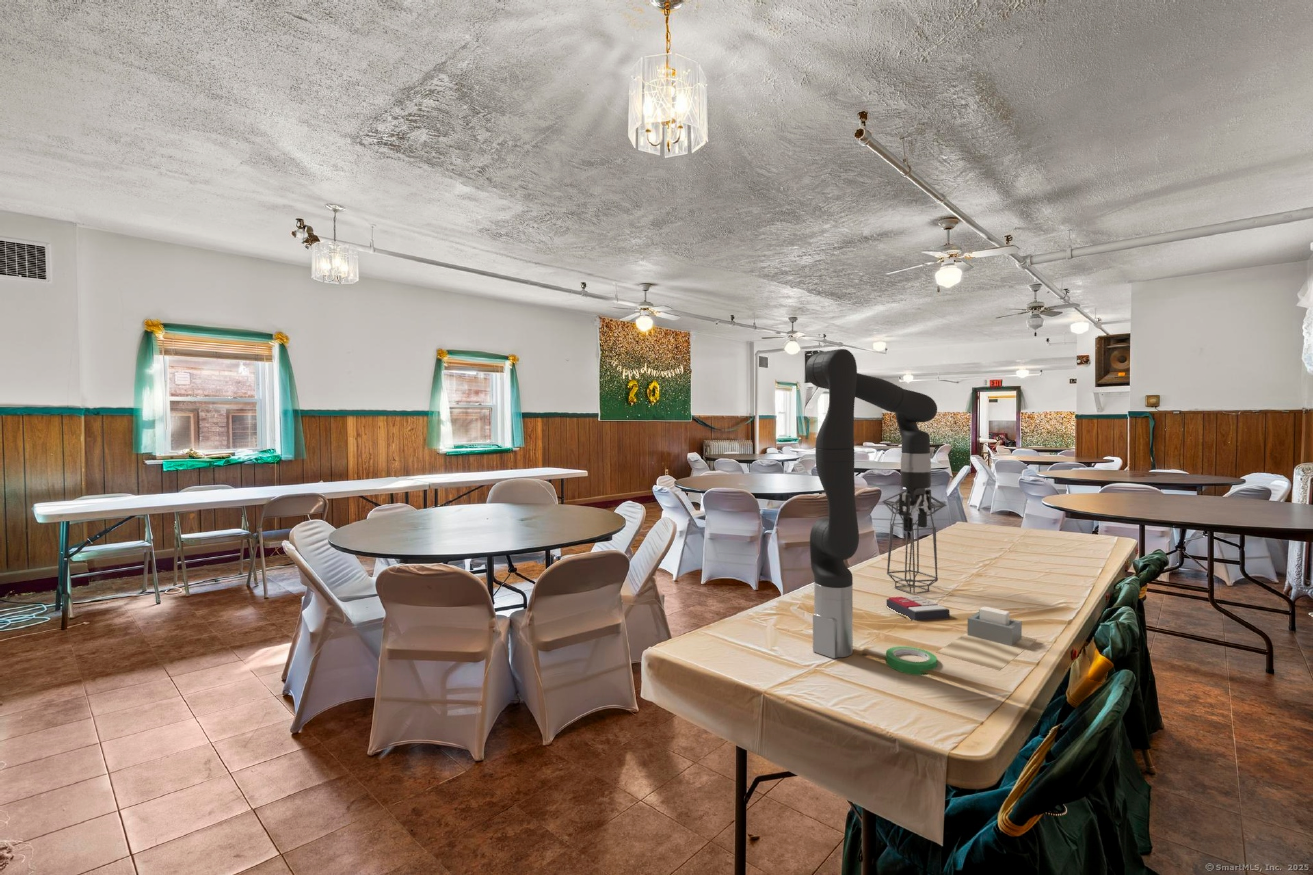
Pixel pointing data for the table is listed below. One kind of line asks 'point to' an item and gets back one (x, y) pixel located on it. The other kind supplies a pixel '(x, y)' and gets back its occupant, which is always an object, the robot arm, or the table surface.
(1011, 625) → the end holder
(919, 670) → the tape roll
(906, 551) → the geometric lantern
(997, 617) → the white block
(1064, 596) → the table surface
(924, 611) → the calculator
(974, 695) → the table surface
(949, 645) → the beige mat
